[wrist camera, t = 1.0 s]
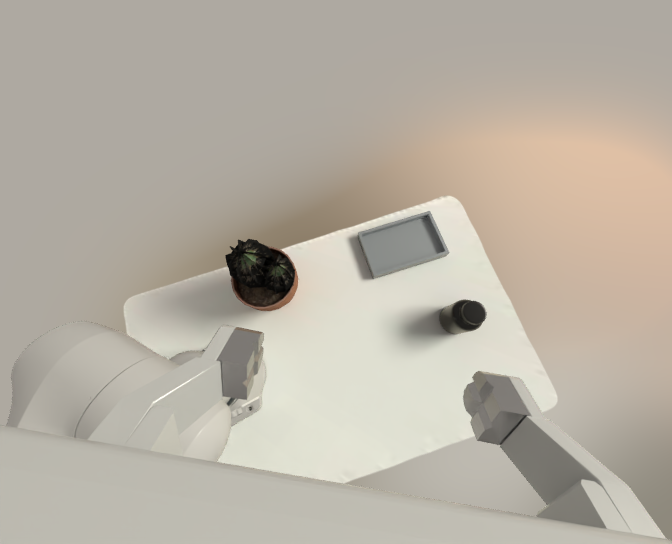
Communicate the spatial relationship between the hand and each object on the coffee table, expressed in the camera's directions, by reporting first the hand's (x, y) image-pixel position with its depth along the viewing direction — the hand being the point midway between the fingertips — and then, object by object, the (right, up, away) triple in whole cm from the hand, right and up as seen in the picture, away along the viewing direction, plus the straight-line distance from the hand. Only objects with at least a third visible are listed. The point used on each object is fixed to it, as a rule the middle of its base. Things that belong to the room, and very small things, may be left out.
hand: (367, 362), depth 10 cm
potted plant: (-16, -1, +60) cm, 62 cm away
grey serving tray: (+16, +10, +62) cm, 65 cm away
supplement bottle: (+27, -8, +57) cm, 63 cm away
